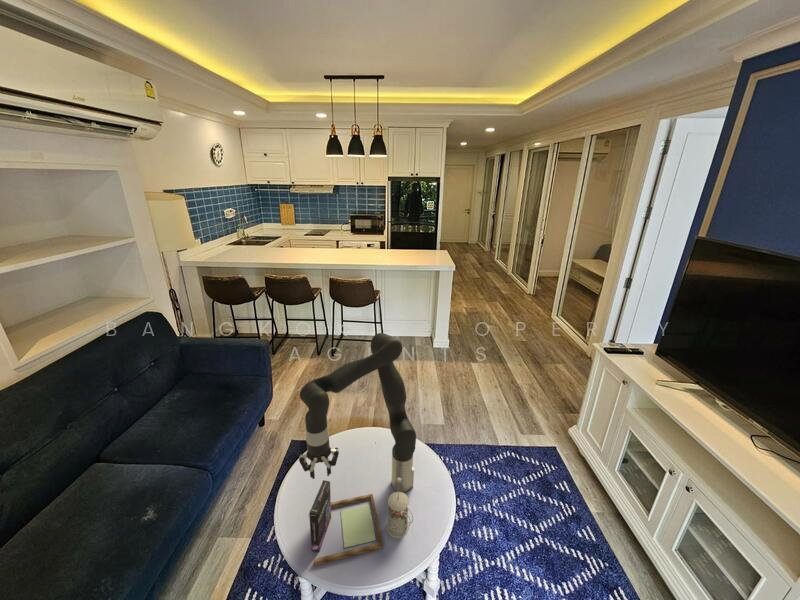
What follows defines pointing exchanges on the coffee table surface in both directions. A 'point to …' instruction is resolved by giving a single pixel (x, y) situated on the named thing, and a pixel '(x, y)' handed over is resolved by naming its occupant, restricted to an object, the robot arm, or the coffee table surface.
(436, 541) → the coffee table surface
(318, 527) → the box
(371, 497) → the bay
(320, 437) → the robot arm
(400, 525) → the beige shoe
